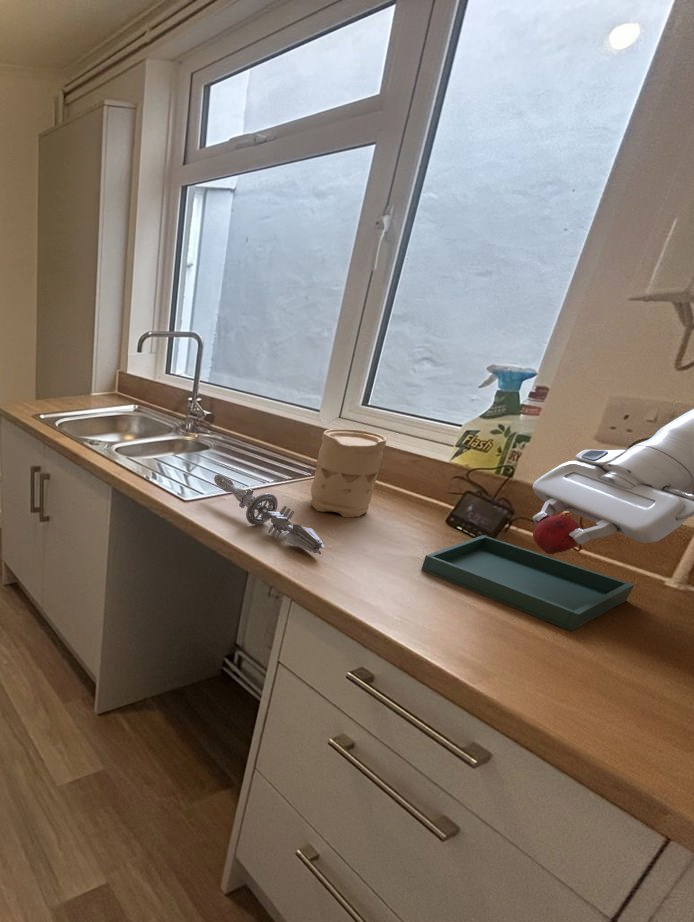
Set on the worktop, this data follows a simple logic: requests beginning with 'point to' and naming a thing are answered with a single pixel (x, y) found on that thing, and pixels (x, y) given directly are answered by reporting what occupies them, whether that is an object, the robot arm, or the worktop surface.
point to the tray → (528, 581)
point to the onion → (555, 533)
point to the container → (346, 471)
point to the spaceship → (272, 516)
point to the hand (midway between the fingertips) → (554, 530)
